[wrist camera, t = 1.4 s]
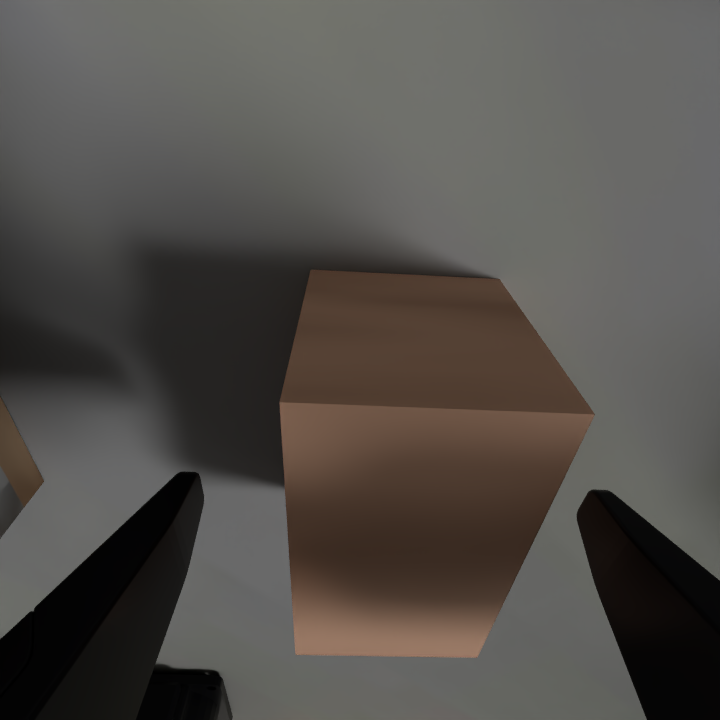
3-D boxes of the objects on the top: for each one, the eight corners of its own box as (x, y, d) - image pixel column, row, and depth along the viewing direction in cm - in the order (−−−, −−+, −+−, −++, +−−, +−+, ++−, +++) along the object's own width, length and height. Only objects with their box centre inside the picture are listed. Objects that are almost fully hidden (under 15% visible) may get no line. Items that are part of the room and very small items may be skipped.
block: (442, 492, 15) (477, 657, 11) (313, 488, 14) (295, 654, 10) (497, 277, 10) (594, 414, 6) (311, 267, 10) (279, 402, 6)
